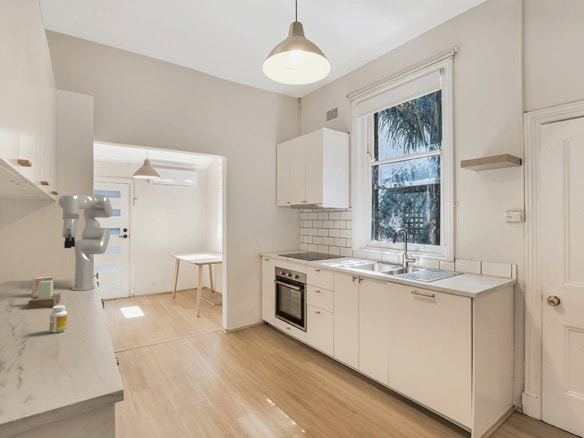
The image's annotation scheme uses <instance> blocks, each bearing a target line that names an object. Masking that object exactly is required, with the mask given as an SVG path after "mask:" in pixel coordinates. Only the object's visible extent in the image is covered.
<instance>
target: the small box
mask: <svg viewBox="0 0 584 438" xmlns="http://www.w3.org/2000/svg"><path fill="white" fill-rule="evenodd" d="M50 280H53V276H50V275H49V276H41V277H32V287H31V288H32V290H31V297H32V298H34V297H35V296H37V295H38V287H39V282H40V281H50Z"/></svg>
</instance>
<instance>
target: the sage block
mask: <svg viewBox="0 0 584 438" xmlns="http://www.w3.org/2000/svg"><path fill="white" fill-rule="evenodd" d="M53 294H54V279H52V280H50V281H40V282H39V287H38V299H39V298H51V297H52V296H53Z"/></svg>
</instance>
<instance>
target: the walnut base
mask: <svg viewBox="0 0 584 438" xmlns="http://www.w3.org/2000/svg"><path fill="white" fill-rule="evenodd" d="M60 302H61V293H53V296H52V297H51V298H39V299H38V295H37V296H35V297H32V298H31V299H30V300H28V304H27V305H28V308H27V309H28V310H36V309H51V308H52V309H53V307H54V306H58V304H59V303H60Z"/></svg>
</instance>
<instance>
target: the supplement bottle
mask: <svg viewBox="0 0 584 438" xmlns="http://www.w3.org/2000/svg"><path fill="white" fill-rule="evenodd" d="M67 320H68V312H67V311H66V305H63V304H62V305H61V304H60V305H56V306H54V307H53V308H52V312H50V314H49V331H50V332H61V331H64V332H66V331H67V324H68V321H67ZM65 330H66V331H65ZM49 331H48V332H49ZM50 332H49V333H50ZM61 333H62V332H61Z"/></svg>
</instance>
